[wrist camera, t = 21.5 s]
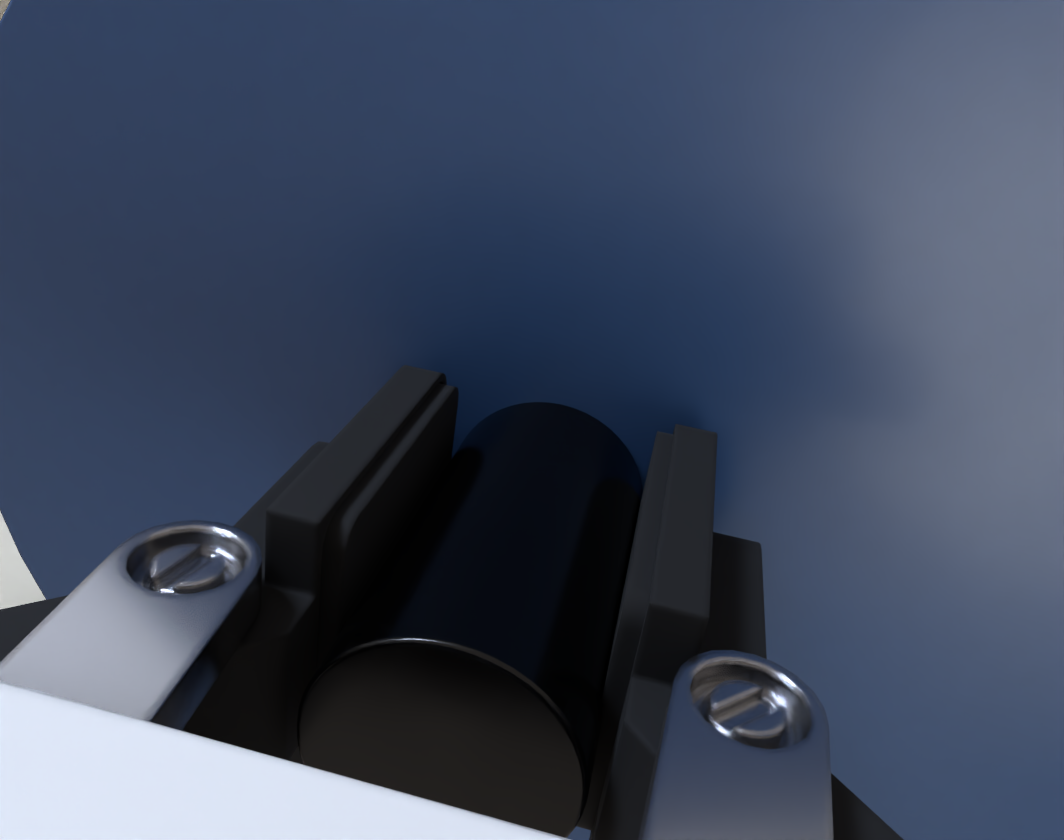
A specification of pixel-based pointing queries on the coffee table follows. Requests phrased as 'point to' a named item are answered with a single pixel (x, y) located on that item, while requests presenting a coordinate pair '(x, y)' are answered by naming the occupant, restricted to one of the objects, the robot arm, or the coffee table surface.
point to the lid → (572, 350)
